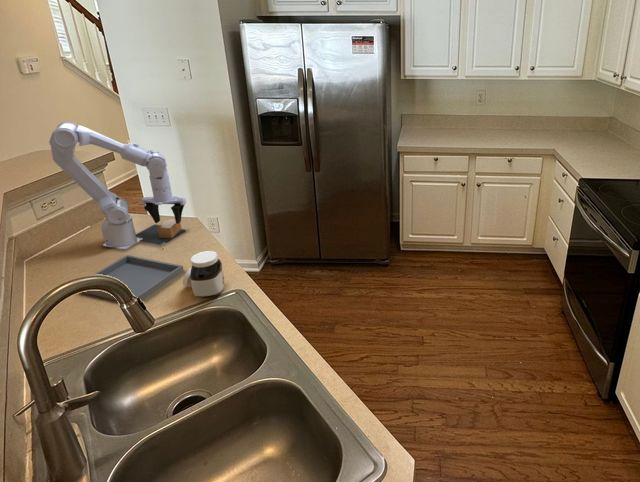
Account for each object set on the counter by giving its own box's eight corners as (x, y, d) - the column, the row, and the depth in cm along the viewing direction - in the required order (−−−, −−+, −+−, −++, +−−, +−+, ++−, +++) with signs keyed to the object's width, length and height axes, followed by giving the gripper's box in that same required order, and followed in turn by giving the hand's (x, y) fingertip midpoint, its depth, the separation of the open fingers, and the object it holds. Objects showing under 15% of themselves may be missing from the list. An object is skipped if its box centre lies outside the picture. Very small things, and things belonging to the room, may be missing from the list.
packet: (159, 237, 153) (157, 227, 152) (169, 228, 160) (167, 219, 158) (171, 238, 153) (169, 228, 152) (181, 229, 160) (179, 219, 158)
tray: (76, 292, 123) (74, 284, 122) (128, 261, 139) (127, 254, 138) (137, 306, 118) (135, 298, 117) (184, 272, 134) (182, 265, 133)
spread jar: (220, 300, 121) (214, 265, 117) (177, 304, 119) (169, 268, 115) (229, 277, 132) (224, 244, 128) (190, 280, 130) (183, 246, 126)
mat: (128, 240, 152) (127, 238, 152) (154, 226, 163) (154, 224, 163) (160, 246, 149) (160, 244, 149) (185, 231, 160) (185, 229, 159)
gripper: (133, 190, 146) (141, 226, 151) (175, 191, 146) (182, 227, 151) (145, 183, 153) (152, 218, 158) (186, 184, 153) (192, 218, 158)
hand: (168, 222), depth 155 cm, fingers open, 7 cm apart
